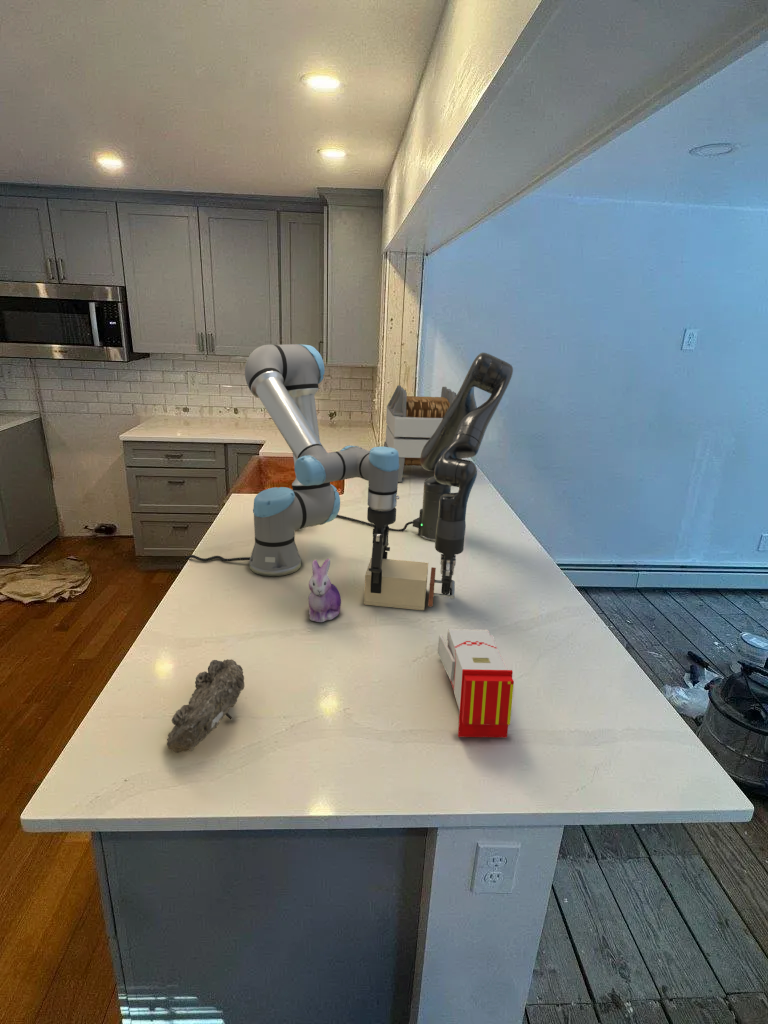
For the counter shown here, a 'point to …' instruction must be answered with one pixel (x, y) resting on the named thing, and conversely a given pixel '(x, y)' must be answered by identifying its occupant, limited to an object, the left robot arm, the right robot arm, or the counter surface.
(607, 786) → the counter surface
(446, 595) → the drawer
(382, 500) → the left robot arm
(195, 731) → the fossil
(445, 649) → the toy
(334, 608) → the figurine
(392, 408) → the white box
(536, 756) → the counter surface
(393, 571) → the cabinet
